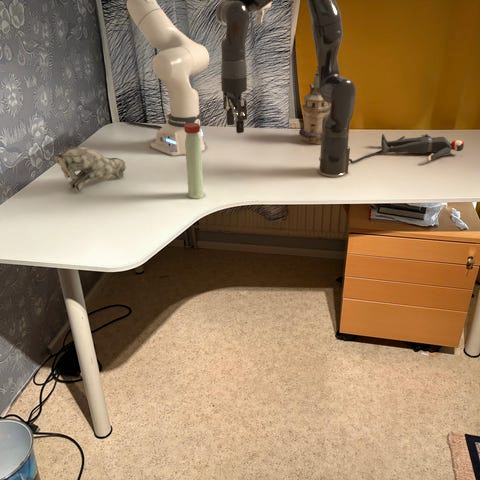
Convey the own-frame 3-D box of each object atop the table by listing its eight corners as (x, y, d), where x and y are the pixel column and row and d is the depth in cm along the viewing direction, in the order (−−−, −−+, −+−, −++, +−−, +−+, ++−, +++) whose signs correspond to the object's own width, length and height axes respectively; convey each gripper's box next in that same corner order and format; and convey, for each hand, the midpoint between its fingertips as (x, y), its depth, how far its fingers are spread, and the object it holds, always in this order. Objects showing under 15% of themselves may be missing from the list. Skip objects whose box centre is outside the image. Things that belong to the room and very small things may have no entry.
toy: (381, 127, 217) (459, 127, 211) (380, 142, 220) (457, 142, 214) (382, 148, 195) (470, 149, 189) (381, 165, 198) (468, 166, 192)
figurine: (92, 206, 176) (137, 172, 185) (60, 158, 168) (108, 124, 176) (80, 204, 184) (124, 171, 193) (49, 157, 175) (96, 125, 184)
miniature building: (320, 132, 228) (325, 59, 214) (338, 142, 217) (344, 66, 203) (293, 137, 224) (296, 63, 209) (310, 147, 213) (314, 69, 198)
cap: (182, 130, 165) (181, 124, 164) (195, 127, 167) (194, 121, 166) (189, 134, 161) (188, 128, 160) (202, 131, 164) (202, 125, 163)
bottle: (186, 194, 176) (181, 125, 164) (198, 191, 178) (195, 123, 166) (193, 199, 172) (188, 129, 161) (206, 196, 174) (202, 126, 163)
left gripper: (260, -24, 177) (260, 21, 184) (223, -20, 162) (224, 29, 169) (276, -23, 174) (275, 22, 180) (240, -19, 159) (241, 30, 166)
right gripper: (254, 78, 151) (255, 133, 159) (237, 68, 163) (238, 120, 171) (229, 81, 149) (231, 137, 157) (214, 70, 161) (216, 123, 169)
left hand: (250, 25), depth 175 cm, fingers open, 8 cm apart
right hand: (235, 128), depth 164 cm, fingers open, 8 cm apart
